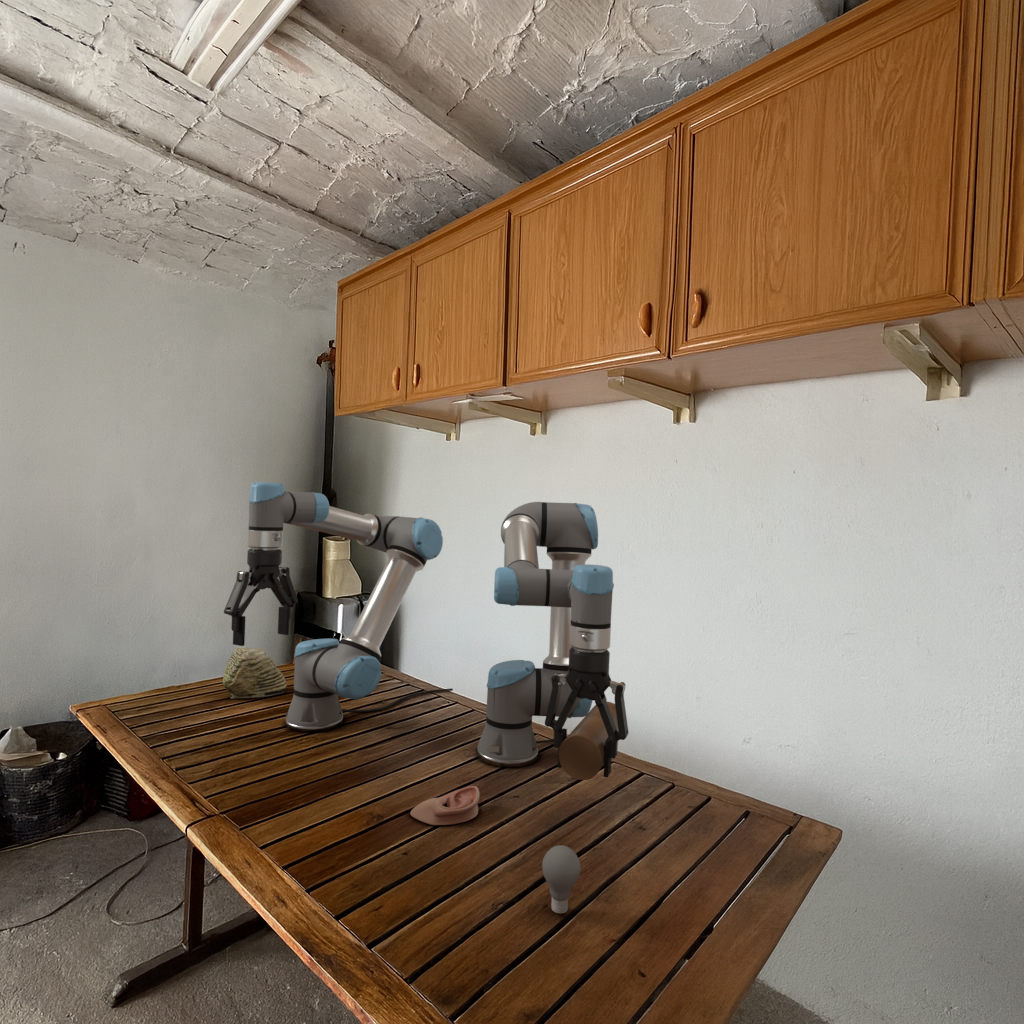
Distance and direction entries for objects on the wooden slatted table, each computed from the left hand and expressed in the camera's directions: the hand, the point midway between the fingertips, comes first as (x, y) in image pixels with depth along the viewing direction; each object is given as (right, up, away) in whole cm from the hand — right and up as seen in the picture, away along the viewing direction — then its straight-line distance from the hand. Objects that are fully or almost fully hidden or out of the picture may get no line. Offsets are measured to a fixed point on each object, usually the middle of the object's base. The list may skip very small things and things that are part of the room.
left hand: (261, 639), depth 148 cm
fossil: (-22, -28, +50) cm, 62 cm away
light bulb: (+66, -33, -48) cm, 88 cm away
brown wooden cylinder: (+75, -19, -22) cm, 80 cm away
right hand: (+72, -18, -29) cm, 80 cm away
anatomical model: (+45, -32, -18) cm, 58 cm away
